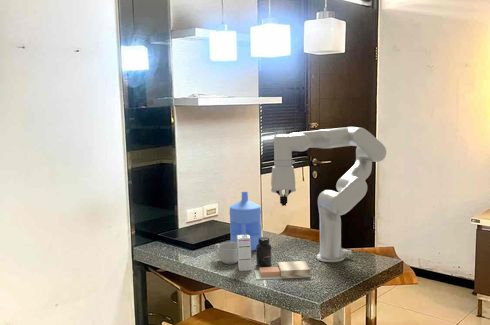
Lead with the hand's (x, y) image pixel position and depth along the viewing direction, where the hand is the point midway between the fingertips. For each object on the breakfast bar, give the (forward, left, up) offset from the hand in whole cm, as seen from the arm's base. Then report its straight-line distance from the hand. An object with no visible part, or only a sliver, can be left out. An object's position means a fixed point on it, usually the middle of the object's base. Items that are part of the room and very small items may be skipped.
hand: (283, 205), depth 216 cm
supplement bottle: (+9, -2, -27) cm, 29 cm away
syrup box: (+18, +2, -27) cm, 33 cm away
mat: (+3, +11, -27) cm, 29 cm away
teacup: (+25, -9, -27) cm, 38 cm away
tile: (+8, +11, -27) cm, 30 cm away
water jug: (+15, -30, -27) cm, 43 cm away
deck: (-2, +11, -27) cm, 29 cm away
